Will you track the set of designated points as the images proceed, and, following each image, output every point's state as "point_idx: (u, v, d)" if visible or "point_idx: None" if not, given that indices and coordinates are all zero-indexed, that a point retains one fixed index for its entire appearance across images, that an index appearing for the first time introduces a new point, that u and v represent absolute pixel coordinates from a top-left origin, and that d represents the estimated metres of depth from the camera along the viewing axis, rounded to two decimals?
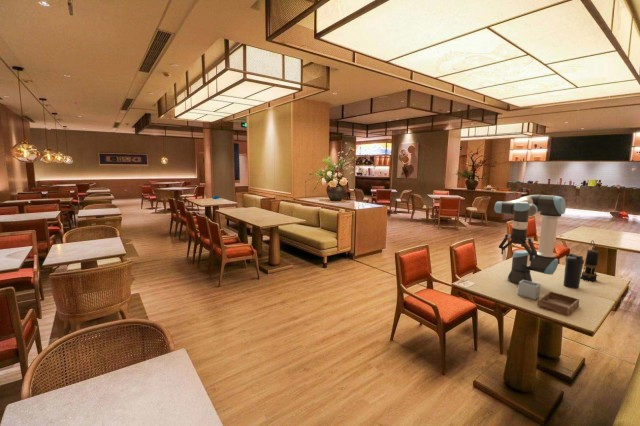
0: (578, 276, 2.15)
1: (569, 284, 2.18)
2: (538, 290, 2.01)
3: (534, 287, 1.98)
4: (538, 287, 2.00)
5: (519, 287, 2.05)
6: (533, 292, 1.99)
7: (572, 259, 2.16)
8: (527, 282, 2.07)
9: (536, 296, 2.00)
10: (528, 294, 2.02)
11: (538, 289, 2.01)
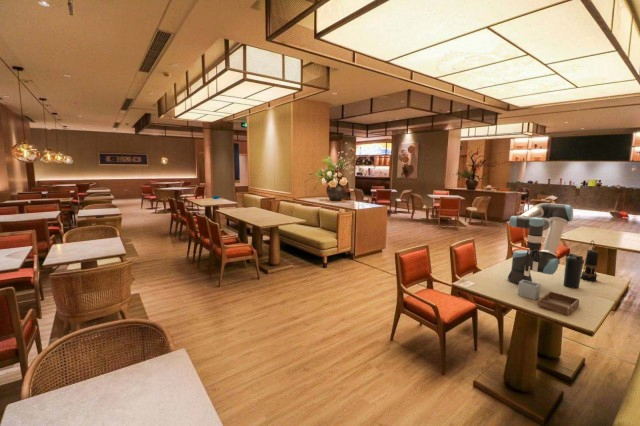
0: (578, 276, 2.15)
1: (569, 284, 2.18)
2: (538, 290, 2.01)
3: (534, 287, 1.98)
4: (538, 287, 2.00)
5: (519, 287, 2.05)
6: (533, 292, 1.99)
7: (572, 259, 2.16)
8: (527, 282, 2.07)
9: (536, 296, 2.00)
10: (528, 294, 2.02)
11: (538, 289, 2.01)
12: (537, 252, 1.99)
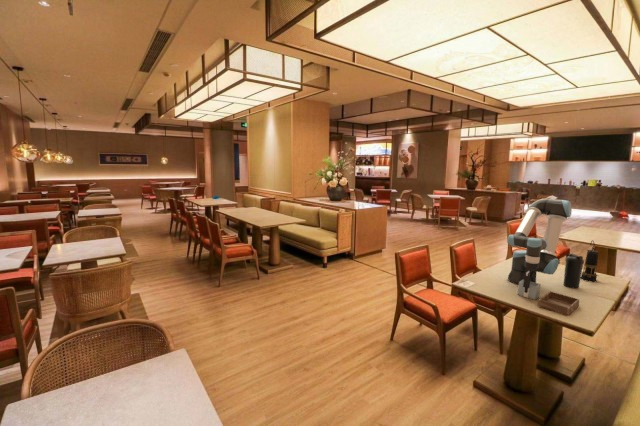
0: (578, 276, 2.15)
1: (569, 284, 2.18)
2: (538, 290, 2.01)
3: (534, 287, 1.98)
4: (538, 287, 2.00)
5: (519, 287, 2.05)
6: (533, 292, 1.99)
7: (572, 259, 2.16)
8: None
9: (536, 296, 2.00)
10: None
11: (538, 289, 2.01)
12: (535, 272, 2.01)
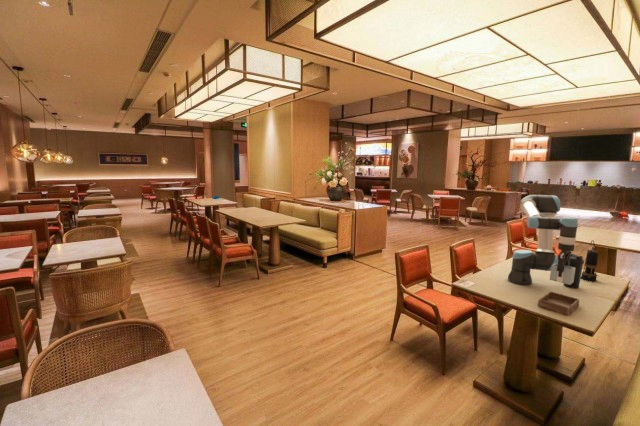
0: (578, 276, 2.15)
1: None
2: (573, 274, 1.84)
3: (569, 270, 1.81)
4: (573, 271, 1.83)
5: (551, 271, 1.88)
6: (568, 276, 1.82)
7: (572, 259, 2.16)
8: None
9: (571, 280, 1.83)
10: None
11: (573, 272, 1.84)
12: (569, 254, 1.84)
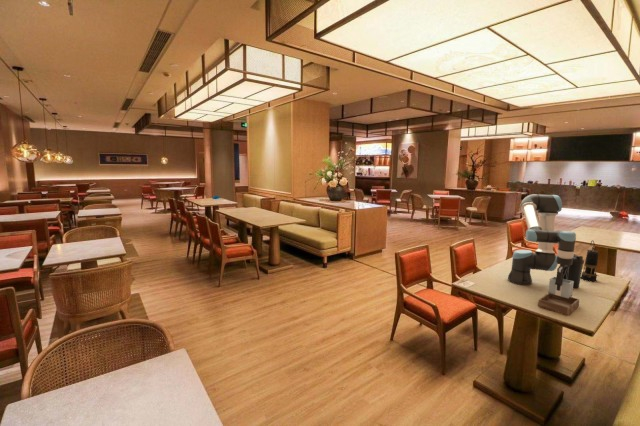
0: (578, 276, 2.15)
1: None
2: (571, 288, 1.85)
3: (567, 284, 1.82)
4: (571, 284, 1.84)
5: (550, 284, 1.89)
6: (566, 290, 1.83)
7: None
8: None
9: (569, 294, 1.84)
10: None
11: (572, 286, 1.85)
12: (568, 268, 1.86)
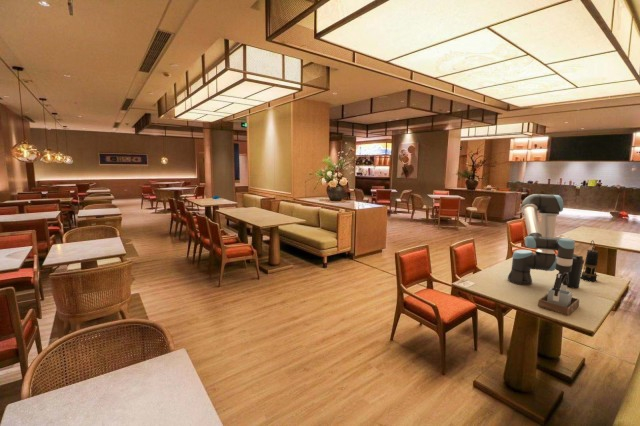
0: (578, 276, 2.15)
1: (569, 284, 2.18)
2: (570, 299, 1.86)
3: (566, 296, 1.84)
4: (570, 296, 1.85)
5: (548, 295, 1.91)
6: (565, 301, 1.85)
7: None
8: None
9: (568, 305, 1.85)
10: (559, 303, 1.87)
11: (570, 297, 1.86)
12: (567, 275, 1.86)
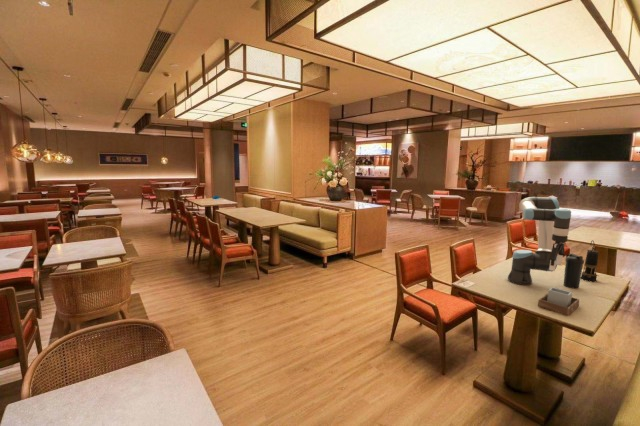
0: (578, 276, 2.15)
1: (569, 284, 2.18)
2: (570, 299, 1.86)
3: (566, 296, 1.84)
4: (570, 296, 1.85)
5: (548, 295, 1.91)
6: (565, 301, 1.85)
7: (572, 259, 2.16)
8: (557, 290, 1.92)
9: (568, 305, 1.85)
10: (559, 303, 1.87)
11: (570, 297, 1.86)
12: (563, 245, 1.89)
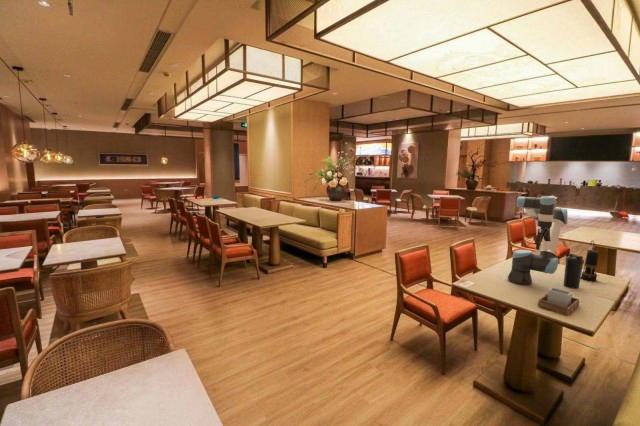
0: (578, 276, 2.15)
1: (569, 284, 2.18)
2: (570, 299, 1.86)
3: (566, 296, 1.84)
4: (570, 296, 1.85)
5: (548, 295, 1.91)
6: (565, 301, 1.85)
7: (572, 259, 2.16)
8: (557, 290, 1.92)
9: (568, 305, 1.85)
10: (559, 303, 1.87)
11: (570, 297, 1.86)
12: (548, 231, 2.00)
